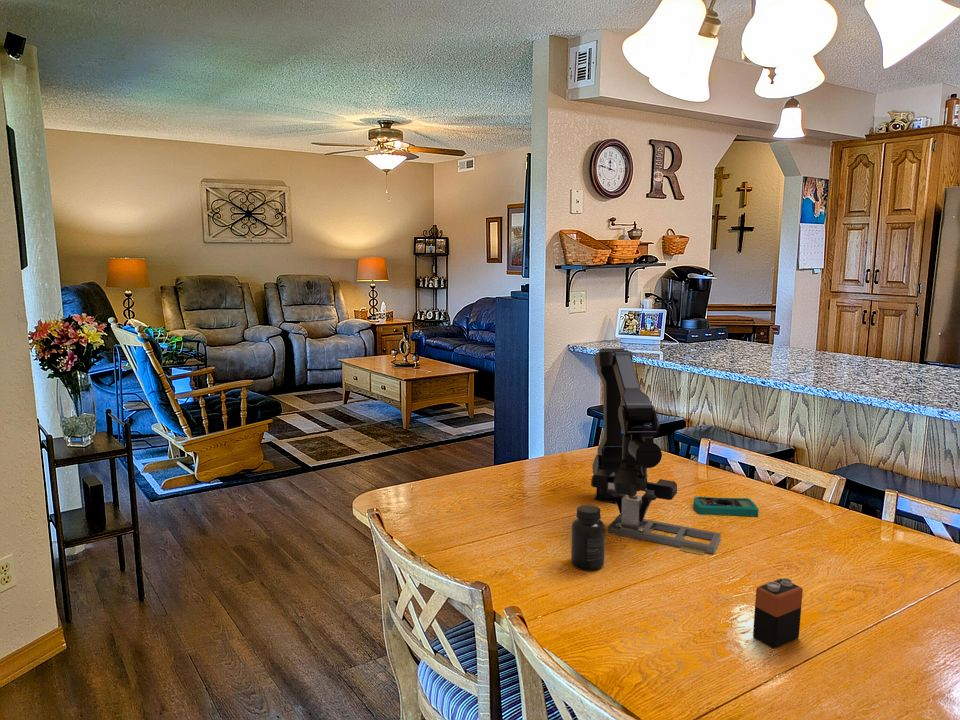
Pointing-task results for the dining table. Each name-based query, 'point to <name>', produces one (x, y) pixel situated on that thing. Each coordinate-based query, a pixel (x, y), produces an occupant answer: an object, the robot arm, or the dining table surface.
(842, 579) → the dining table surface
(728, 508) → the digital multimeter
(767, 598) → the battery
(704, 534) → the rail frame
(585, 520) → the supplement bottle
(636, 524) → the grey tall square block
